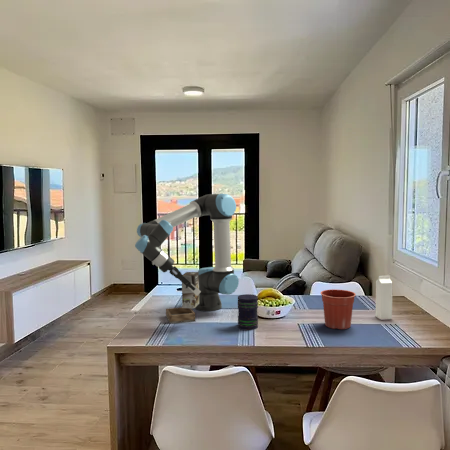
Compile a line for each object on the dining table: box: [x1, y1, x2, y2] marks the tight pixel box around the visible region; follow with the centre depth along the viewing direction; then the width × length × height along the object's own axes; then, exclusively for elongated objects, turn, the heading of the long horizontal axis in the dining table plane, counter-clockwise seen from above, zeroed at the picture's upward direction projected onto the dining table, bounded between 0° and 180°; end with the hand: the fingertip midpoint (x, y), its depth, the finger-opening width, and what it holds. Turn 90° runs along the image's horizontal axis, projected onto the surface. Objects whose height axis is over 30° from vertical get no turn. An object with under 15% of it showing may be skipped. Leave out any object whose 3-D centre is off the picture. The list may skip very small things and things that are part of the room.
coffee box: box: [181, 271, 199, 310], centre depth 203 cm, size 9×6×16 cm
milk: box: [375, 274, 393, 321], centre depth 214 cm, size 6×6×22 cm
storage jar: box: [237, 293, 259, 331], centre depth 203 cm, size 10×10×15 cm
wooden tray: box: [165, 306, 196, 325], centre depth 218 cm, size 13×14×4 cm
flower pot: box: [320, 288, 357, 330], centre depth 203 cm, size 16×16×16 cm
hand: (196, 291), depth 204 cm, fingers closed on coffee box, 10 cm apart
